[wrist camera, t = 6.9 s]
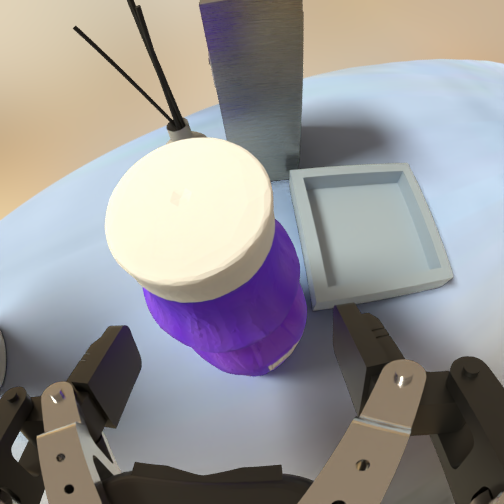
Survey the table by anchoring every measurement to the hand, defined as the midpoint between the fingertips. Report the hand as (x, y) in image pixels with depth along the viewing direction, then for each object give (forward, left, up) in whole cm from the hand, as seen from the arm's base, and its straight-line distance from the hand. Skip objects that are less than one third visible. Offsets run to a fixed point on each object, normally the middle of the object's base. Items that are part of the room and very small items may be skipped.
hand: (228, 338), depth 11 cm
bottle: (0, +2, -12) cm, 12 cm away
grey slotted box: (+3, +20, -11) cm, 23 cm away
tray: (+11, +9, -11) cm, 18 cm away
